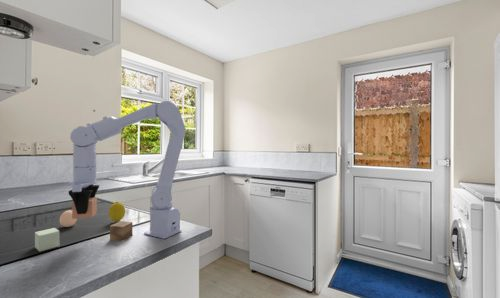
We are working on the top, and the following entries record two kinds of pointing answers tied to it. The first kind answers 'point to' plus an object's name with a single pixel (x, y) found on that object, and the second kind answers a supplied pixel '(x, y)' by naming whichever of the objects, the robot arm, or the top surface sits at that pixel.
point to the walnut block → (121, 231)
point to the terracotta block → (90, 211)
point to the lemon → (116, 211)
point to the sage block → (47, 239)
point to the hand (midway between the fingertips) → (85, 211)
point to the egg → (67, 219)
